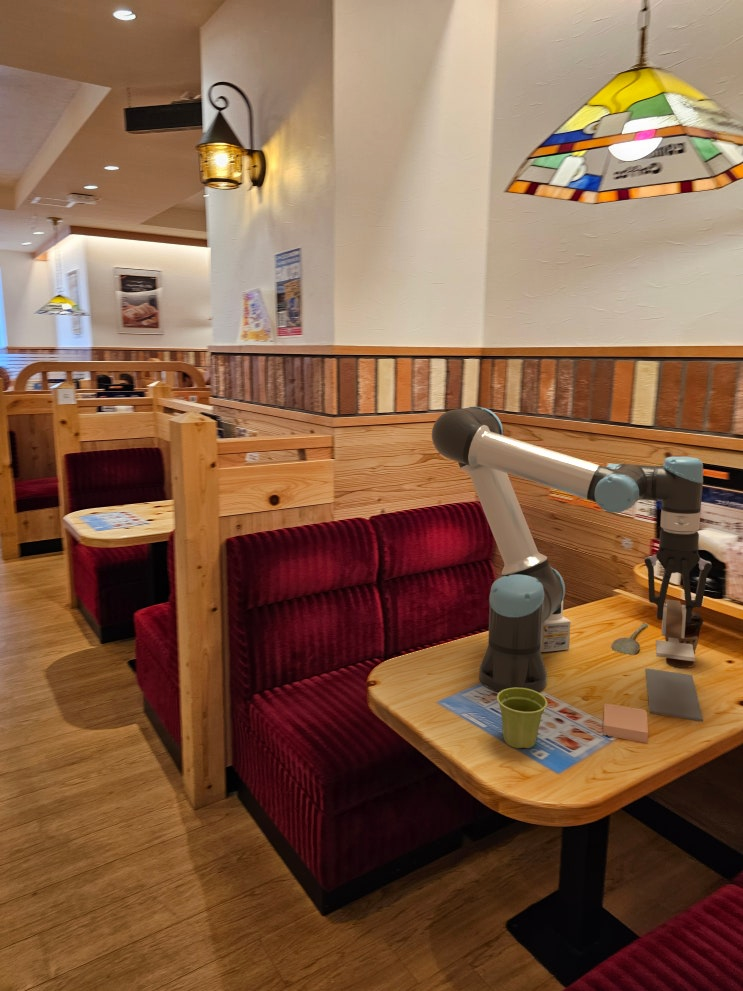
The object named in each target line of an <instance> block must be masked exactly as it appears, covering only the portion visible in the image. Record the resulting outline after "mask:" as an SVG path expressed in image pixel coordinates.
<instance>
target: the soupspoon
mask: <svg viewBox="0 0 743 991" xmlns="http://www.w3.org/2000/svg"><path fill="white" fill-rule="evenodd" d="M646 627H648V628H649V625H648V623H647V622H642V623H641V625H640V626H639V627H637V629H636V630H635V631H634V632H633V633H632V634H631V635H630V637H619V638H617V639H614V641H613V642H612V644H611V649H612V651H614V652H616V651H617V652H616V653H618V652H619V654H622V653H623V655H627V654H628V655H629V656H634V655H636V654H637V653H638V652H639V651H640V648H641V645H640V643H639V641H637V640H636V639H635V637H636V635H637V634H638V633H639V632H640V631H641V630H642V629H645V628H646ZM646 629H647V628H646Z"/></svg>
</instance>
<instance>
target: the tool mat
mask: <svg viewBox="0 0 743 991" xmlns="http://www.w3.org/2000/svg"><path fill="white" fill-rule="evenodd" d="M645 677H646V678H647V679H646V688H647V689H648V690H647V698H648V699H647V700H648V708H649V713H650V714H655V715H662V716H665V717H667V716H668V717H673V718H680V719H685V720H691V721H698V722H703V721H704V718H703V714H702V710H701V707H700V702H699V698H698V693H697V689H696V685H695V684H696V683H695V681H694V677H693V674H687V673H681V672H675V671H668V670H660V669H656V668H655V669H654V668H647V667H646V668H645Z"/></svg>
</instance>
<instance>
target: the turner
mask: <svg viewBox="0 0 743 991" xmlns="http://www.w3.org/2000/svg"><path fill="white" fill-rule="evenodd" d="M664 603H665V604H667V617H666V633H665V636H664V639H665V640H659V639H656V640H655V654H656V655H655V656H656V658H657V657H658V658H664V659H666V658H672V659H680V660H688V661H694V662H695V661H696V657H695V655H694V651H693V646H692V644H685V643H679V642H681V632H682V618H683V615H682V609H681V607H682V604H681V601H680V600H675V599H667V598H665V602H664Z"/></svg>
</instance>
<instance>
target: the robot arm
mask: <svg viewBox="0 0 743 991" xmlns="http://www.w3.org/2000/svg"><path fill="white" fill-rule="evenodd" d="M432 426H433V427H432V429H431V440H432V444H433V447H434V448H435V450H436V451H437V452H438V453H439V454H440V456H443V458H444V457H445V458H446V459H449V460H451V461H455V462H457V463H458V465H459V466H458V467H459V469H460V470H462V471H463V472H466V473H468V474H469V476H470V480H471V482H472V484H473V487H474V490H475V492H476V495H477V497H478V500H479V502H480V505H481V508H482V511H483V513H484V515H485V518H486V521H487V523H488V525H489V527H490V528H489V529H490V531H491V533H492V535H493V538H494V540H495V542H496V546H497V548H498V551H499V554H500V556H501V559H502V561H503V563H504V567H503V568H502V571H501V577H498V578H497V579H496V580H494V582H493V583H492V585H491V587H490V593H489V597H488V600H489V601H488V602H489V612H488V613H489V614H488V638H487V639H488V642H487V644H488V645H487V647H486V650H485V652H484V655H483V657H482V660H481V663H480V664H479V674H478V677H479V678H478V679H479V680H480V683H481V684H483V685H484V686H485V687H486V688H488V689H490V690H493V691H495V692H497V693H499V692H501V691H502V690H504V689H508V688H526V689H531V690H534V691H536V692H538V693H540V692H541V691H543V690H544V689H545V688H546V686H547V679H548V678H547V677H548V673H547V669H546V666H545V662H544V659H543V656H542V651H540V646H541V630H542V623H543V622H544V621H545V620H546V619H547V618H548V617H549V616H550V615H551V614H553V613H554V612H555V611H556V610H557V609H558V608H559V607H560V605H561V603H562V601H563V602H564V598H565V595H566V585H565V581H564V578H563V577H562V575H561V574H560V573H559V571H558V570H557V569H555V568H553V567H552V566H551V563H550V562H549V558H548V556H546V555H544V554H542V553H541V552H539V551H538V548H537V546H536V543H535V541H534V538H533V536H532V533H531V530H530V528H529V525H528V523H527V521H526V520H527V519H526V518H525V516H524V513H523V511H522V508H521V505H520V502H519V500H518V497H517V495H516V492H515V489H514V488H513V485H512V483H511V480H510V478H509V475H512V476H515V477H518V478H520V479H523V480H528V481H530V482H533V483H536V484H538V485H542V486H546V487H548V488H551V489H554V490H557V491H560V492H564V493H567V494H569V495H572V496H575V497H578V498H580V499H584V500H588V501H590V502H592V503H596V504H597V505H598V506H599V507H600V508H601V509H602V510H604V511H605V512H607V513H613V514H615V513H622V512H625V511H627V510H630V509H631V508H632V507H633V506H635V504H636V503H637V502H638V501H639V500H640V501H654V502H661V512H660V525H659V526H660V527H661V530H660V531H659V543H658V544H659V545H658V550H657V551H656V554H653V555H650V556H648V555H647V556H644V558H643V559H644V564H645V566H646V569H647V580H648V581H647V582H648V600H649V602H650V603H652V604H656V606H657V608H656V618H657V619H656V620H660V621H661V630H660V632H661V633H660V634H661V637H665V633H666V617H667V604H665V600H666V599H667V593H668V588H669V584H670V581H671V580H670V579H671V577H672V574H681V575H682V583H683V592H684V593H683V594H684V602H685V604H681V609H682V615H683V618H682V632H681V638H684V635H685V622H686V623H690V622H691V616H692V610H693V609H694V608H701V607H702V606H703V601H704V596H705V590H706V585H707V584H706V583H707V577H708V574H709V573H710V571H711V569H712V568H713V565H712V562H711V561H710V560H705V559H703V558H701V556H700V554H699V540H700V539H699V538H700V533H699V532H698V531H699V530H700V523H701V508H702V496H703V486H704V485H703V484H704V464H703V462H702V460H701V459H699V458H697V457H692V456H668V457H666V458H665V459H664V462H663V463H662V464H663V465H644V464H643V465H642V464H629V463H625V462H623V463H609V464H608V465H606V466H602V465H600V464H597V463H594V462H590V461H589V460H588V461H587V460H585V459H581V458H577V457H574V456H571V455H569V454H565V453H562V452H558V451H555V450H552V449H548V448H546V447H542V446H539V445H535V444H532V443H528V442H526V441H522V440H519V439H515V438H512V437H508V436H505V435H504V432H503V431H504V428H503V424H502V421H501V420H500V418H499V417H498V415H496V414H495V412H494V411H493V410H490V409H488V408H485V407H480V406H469V407H465V408H460V409H459V408H458V409H451V410H448V411H446V412H444V413H442V414H441V415H440V416H439V417H438V418H437V419H436V420H435V422H434V424H433V425H432ZM657 561H658V562H659V563H660V565H661V566H662V568H663V569H664V571H663V575H662V579H661V584H660V588H659V593H658V596H657V595H656V589H655V588H656V587H655V570H654V567H655V566H656V565H657ZM697 564H698V568H699V574H698V580H697V586H696V590H695V598H694V599H692V591H691V590H692V589H691V581H690V571H692V570H693V569H694V567H695V566H696V565H697Z"/></svg>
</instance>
